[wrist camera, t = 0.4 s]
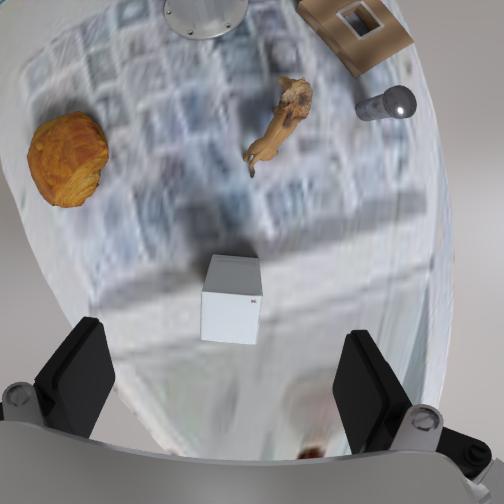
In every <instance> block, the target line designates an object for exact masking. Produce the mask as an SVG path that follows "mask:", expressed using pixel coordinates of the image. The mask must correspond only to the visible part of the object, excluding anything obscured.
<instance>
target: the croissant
mask: <svg viewBox="0 0 504 504" xmlns="http://www.w3.org/2000/svg"><path fill="white" fill-rule="evenodd" d="M108 159H109V157H108V145H107V141H106V139H105V137H104V135H103V133H102V131H101V129H100V128H99V126H98V125H97V124H96V123H95V122H94V121H93V120H92V119H91V117H89V116H88V115H85V114H84V113H83V112H80V111H78V112H75V113H72V114H66V115H64V116H61V117H59V118H58V119H53V120H52V121H48V122H46V123H44V124H43V125H41V126H40V127H39V128H38V129H37V130H36V131H35V133H34V137H33V138H32V141H31V146H30V148H29V152H28V154H27V160H28V164H29V169H30V172H31V176H32V178H33V180H34V182H35V184H36V186H37V188H38V190H39V192H40V194H41V195H42V196H43V198H44V199H45V200H46V201H47V202H48V203H49V204H51V205H52V206H55V205H56V206H60V207H63V208H69V207H77V206H81V205H82V204H83V203H84V201H85V199H86V198H88V197H90V196H91V195H92V194H93V193H94V191H95V189H96V187H97V186H99V184H98V183H97V182H99V178H100V177H101V175H100V170H99V169H102V168H103V167H104V165H105V164H106V163H107V161H108Z"/></svg>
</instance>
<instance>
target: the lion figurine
mask: <svg viewBox="0 0 504 504" xmlns="http://www.w3.org/2000/svg"><path fill="white" fill-rule="evenodd" d="M278 80H279V81H278V82H279V85H280V86H282V87H283V91H284V92H283V94H282V95H281V100H280V101H279V106H278V107H276V108H274V109H273V112H274V115H275V117H274V118H273V119H272V121H271V122H270V124H269V126H268V128H267V130H266V133H265V135H264V137H262V138H261V139H258V140H256V141H254V143H252V144H251V145H250V147H249V149H248V151H247V153H246V154H244V155H243V161H245V162H248V161H249V160H250V159H251V155H254V157H253V158H252V160H251V161H250V164H249V166H250V170H251V171H250V177H251V178H254V174H255V171H254V167H253V165H254V164H255V163H256V162H257V161H259V160H261V161H269V160H271V159H272V158H273V157H275V156H277V155H278V151H277V150H278V147H279V146H280V145H281V144H282V143H283V142H284V141H285V140H286V139H287V137H288V136H290V134H291V133H292V132H293V131H294V129H295V127H296V125H297V123H299V122H301V120H302V119H305V118H306V117H307V115H308V114H309V110H310V108H311V104H312V101H311V100H312V95H313V94H312V92H313V89H312V88H311V86H310V84H309V83H307V82H306V81H305V78H304V77H303V78H302V79H299V80H295V79H289V78H288V77H285V76H281V77H279V79H278Z"/></svg>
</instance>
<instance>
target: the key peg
mask: <svg viewBox="0 0 504 504" xmlns="http://www.w3.org/2000/svg"><path fill="white" fill-rule="evenodd" d="M416 107H417V103H416V99H415V96H414V94H413V93H412V92H411V91H410V90H409V89H408V88H407V87H405V86H401V85H397V86H394V87H391V88H389V89H387V90H386V91H385V92H384V94H381V95H378V96H375V97H372V98H370V99H367V100H364V101H361V102H359V103H358V104H357V106H356V114H357V116H358V117H359V118H360V119H361V120H363V121H371V120H377V119H383V118H388V117H394V118H397V119H403V118H409V117H411V116H412V115H413V114H414V113H415V111H416Z"/></svg>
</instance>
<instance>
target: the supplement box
mask: <svg viewBox="0 0 504 504" xmlns="http://www.w3.org/2000/svg"><path fill="white" fill-rule="evenodd" d="M262 298H263V293H262V283H261V274H260V264H259V258H250V257H239V256H227V255H215V254H213V255H212V258H211V262H210V265H209V268H208V272H207V276H206V279H205V283H204V286H203V290H202V294H201V340H209V341H219V342H232V343H242V344H253V345H255V344H256V343H257V336H258V328H259V321H260V313H261V305H262Z"/></svg>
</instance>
